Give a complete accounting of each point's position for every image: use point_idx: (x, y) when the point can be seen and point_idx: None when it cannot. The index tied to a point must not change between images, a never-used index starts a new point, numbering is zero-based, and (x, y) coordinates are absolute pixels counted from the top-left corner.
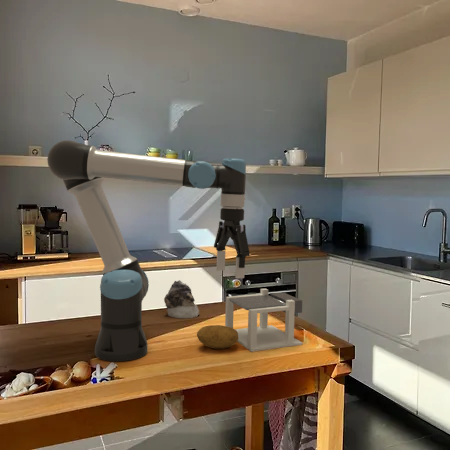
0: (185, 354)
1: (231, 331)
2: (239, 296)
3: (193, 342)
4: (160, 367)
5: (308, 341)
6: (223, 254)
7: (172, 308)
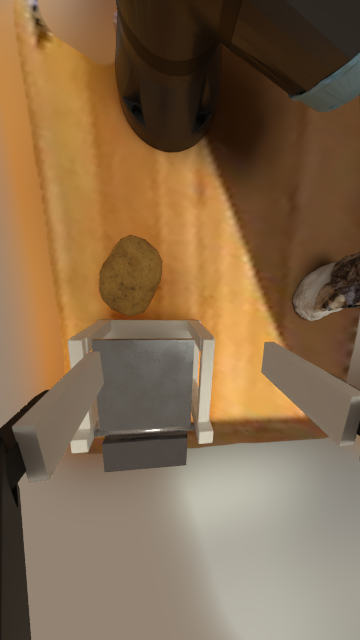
0: (120, 212)
1: (106, 296)
2: (205, 370)
3: (172, 250)
4: (71, 141)
5: None
6: (319, 414)
7: (330, 269)
